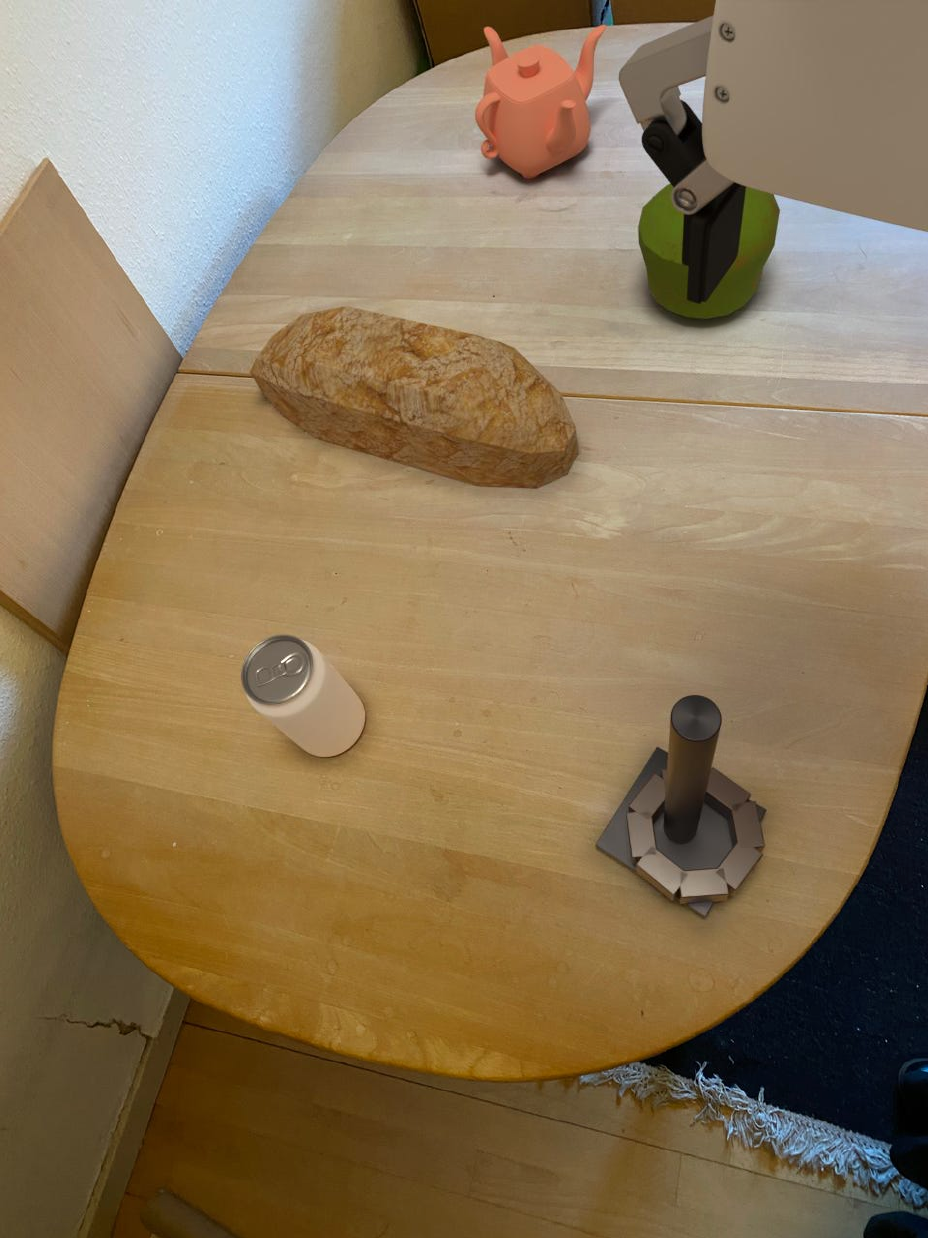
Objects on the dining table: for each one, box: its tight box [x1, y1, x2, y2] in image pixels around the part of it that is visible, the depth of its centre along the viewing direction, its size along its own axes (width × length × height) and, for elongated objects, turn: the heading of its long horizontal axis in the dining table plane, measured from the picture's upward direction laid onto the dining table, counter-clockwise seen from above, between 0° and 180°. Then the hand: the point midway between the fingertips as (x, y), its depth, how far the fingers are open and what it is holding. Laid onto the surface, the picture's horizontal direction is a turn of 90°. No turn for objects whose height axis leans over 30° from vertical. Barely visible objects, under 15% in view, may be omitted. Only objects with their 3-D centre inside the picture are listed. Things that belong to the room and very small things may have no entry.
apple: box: [637, 182, 781, 320], centre depth 80 cm, size 12×12×11 cm
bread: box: [249, 306, 580, 489], centre depth 81 cm, size 36×11×10 cm, turn 63°
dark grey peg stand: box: [595, 694, 768, 920], centre depth 51 cm, size 9×9×25 cm
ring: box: [626, 766, 766, 905], centre depth 59 cm, size 9×9×3 cm
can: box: [240, 634, 366, 758], centre depth 67 cm, size 6×6×12 cm
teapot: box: [474, 24, 607, 180], centre depth 95 cm, size 14×14×11 cm
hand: (826, 314), depth 33 cm, fingers open, 9 cm apart
